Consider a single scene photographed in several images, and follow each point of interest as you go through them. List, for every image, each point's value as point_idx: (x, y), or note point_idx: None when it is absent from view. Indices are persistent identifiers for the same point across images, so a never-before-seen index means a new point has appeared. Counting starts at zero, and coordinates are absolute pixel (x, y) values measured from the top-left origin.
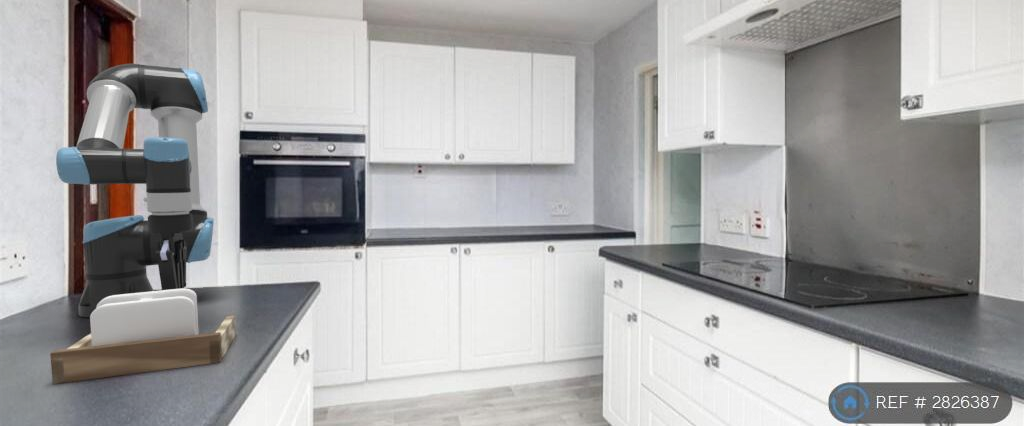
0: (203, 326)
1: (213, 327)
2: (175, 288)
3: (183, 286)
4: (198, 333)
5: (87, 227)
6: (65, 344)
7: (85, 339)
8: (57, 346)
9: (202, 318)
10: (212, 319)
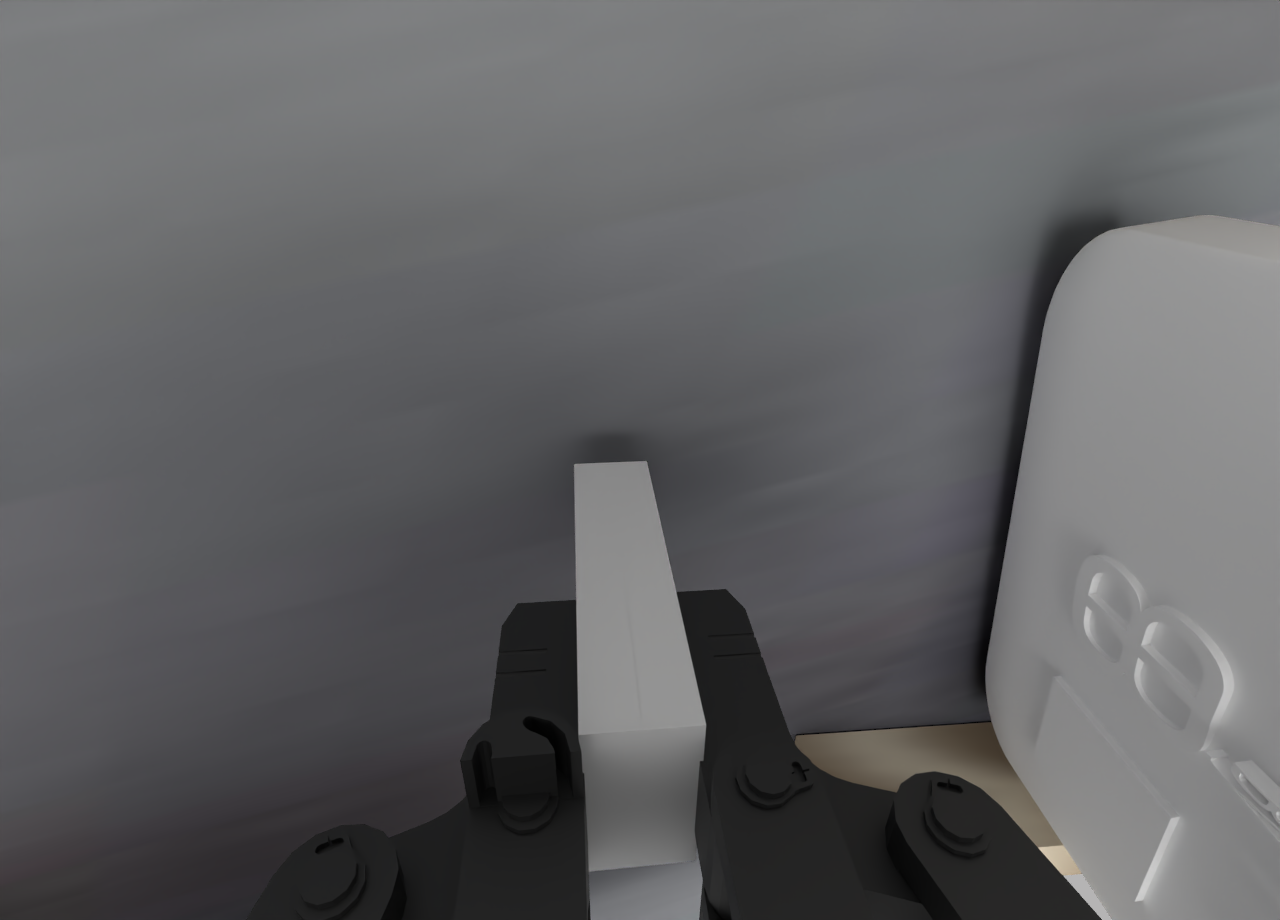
0: (430, 308)
1: (504, 192)
2: (1075, 892)
3: (493, 854)
4: (1122, 228)
5: None
6: (598, 905)
7: (1066, 860)
8: (621, 916)
9: (87, 393)
10: (140, 277)
